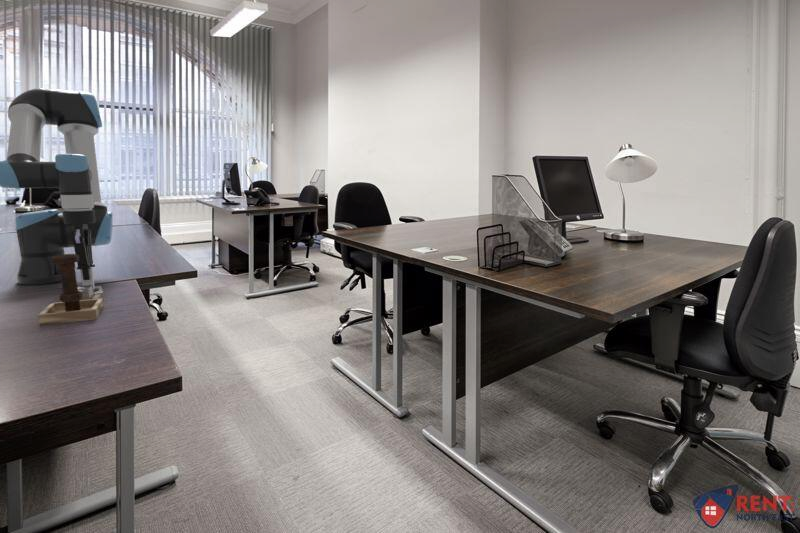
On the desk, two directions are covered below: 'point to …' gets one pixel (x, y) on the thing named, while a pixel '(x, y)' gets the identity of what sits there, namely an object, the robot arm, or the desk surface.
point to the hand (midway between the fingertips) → (89, 289)
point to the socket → (72, 312)
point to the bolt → (68, 281)
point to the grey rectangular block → (86, 292)
